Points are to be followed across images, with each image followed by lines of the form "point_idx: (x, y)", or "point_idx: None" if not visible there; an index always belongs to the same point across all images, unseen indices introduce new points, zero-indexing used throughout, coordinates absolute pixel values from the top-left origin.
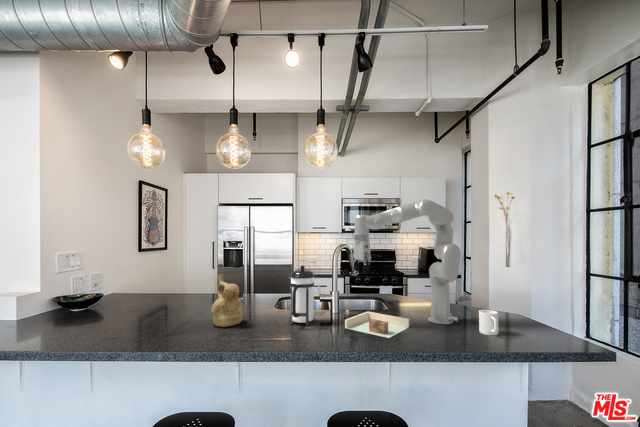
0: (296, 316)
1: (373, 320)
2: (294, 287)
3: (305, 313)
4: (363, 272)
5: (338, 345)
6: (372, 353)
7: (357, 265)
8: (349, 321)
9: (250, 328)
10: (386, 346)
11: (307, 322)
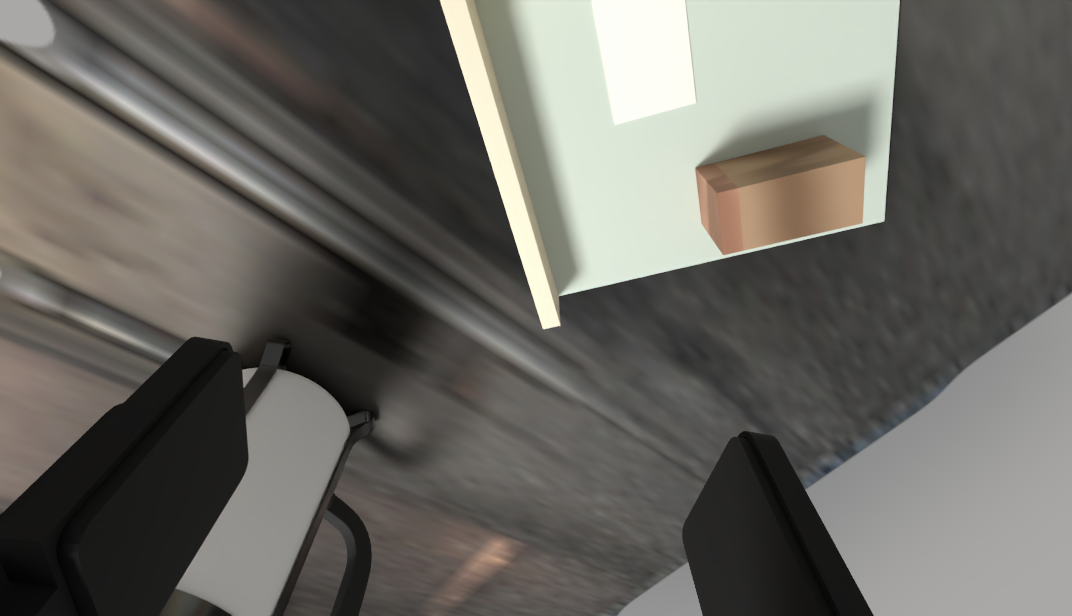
0: (356, 520)
1: (744, 223)
2: None
3: (338, 480)
4: (691, 533)
5: None
6: (902, 421)
7: (158, 516)
8: (551, 289)
9: None
10: (921, 317)
11: (363, 432)
